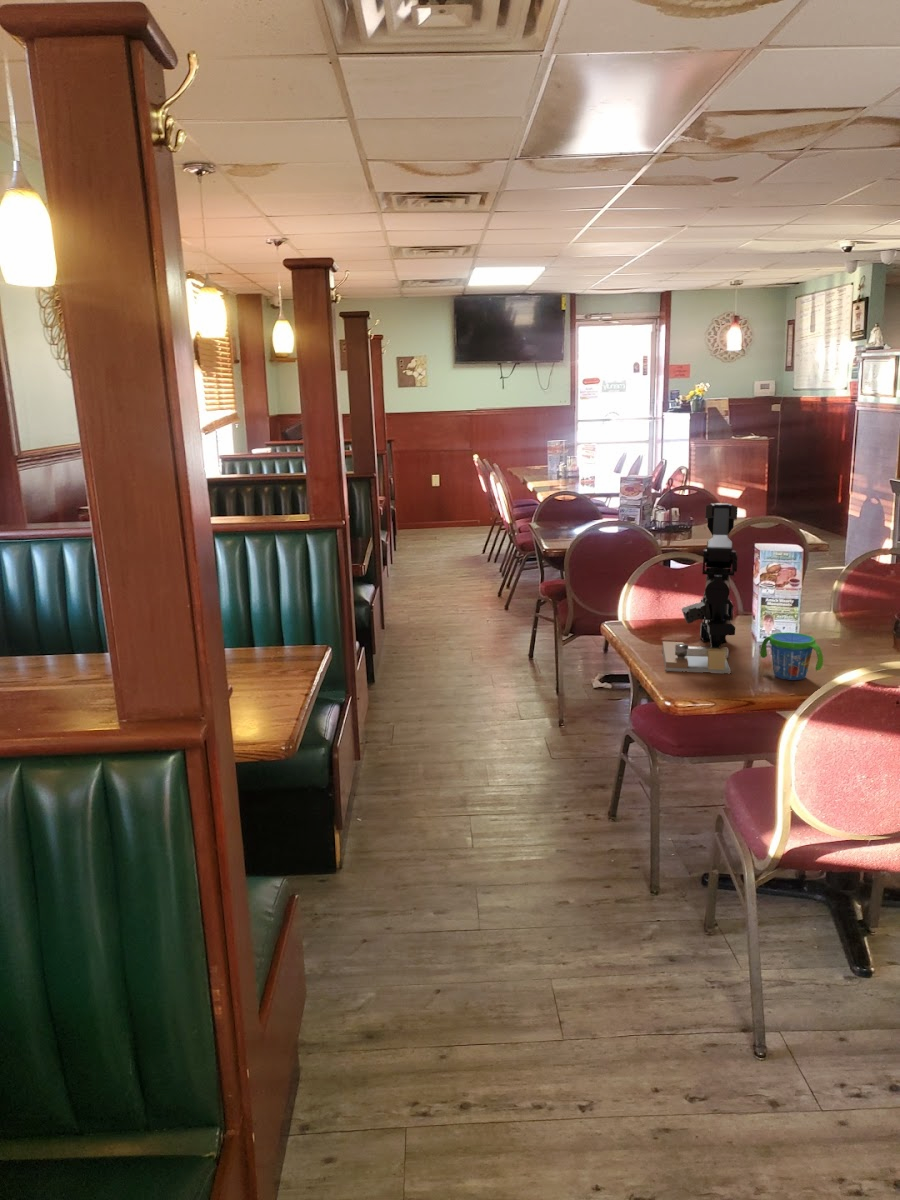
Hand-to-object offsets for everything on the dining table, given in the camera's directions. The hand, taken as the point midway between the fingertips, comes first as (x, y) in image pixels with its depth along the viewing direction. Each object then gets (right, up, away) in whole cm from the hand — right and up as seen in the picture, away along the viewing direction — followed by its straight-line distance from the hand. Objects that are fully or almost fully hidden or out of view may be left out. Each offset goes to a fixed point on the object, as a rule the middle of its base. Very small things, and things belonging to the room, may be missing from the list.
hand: (714, 652), depth 220 cm
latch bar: (-4, -1, -1) cm, 4 cm away
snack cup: (+16, -6, -9) cm, 19 cm away
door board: (-4, -3, +5) cm, 7 cm away
